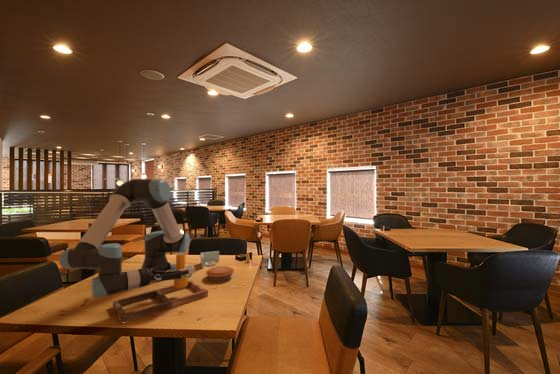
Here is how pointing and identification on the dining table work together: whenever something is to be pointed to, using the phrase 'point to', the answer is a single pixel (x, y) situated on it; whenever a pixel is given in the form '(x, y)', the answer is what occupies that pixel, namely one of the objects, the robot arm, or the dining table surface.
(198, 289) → the rail frame
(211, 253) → the right angle wall
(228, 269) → the pie
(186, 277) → the orange post with rings
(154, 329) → the dining table surface
